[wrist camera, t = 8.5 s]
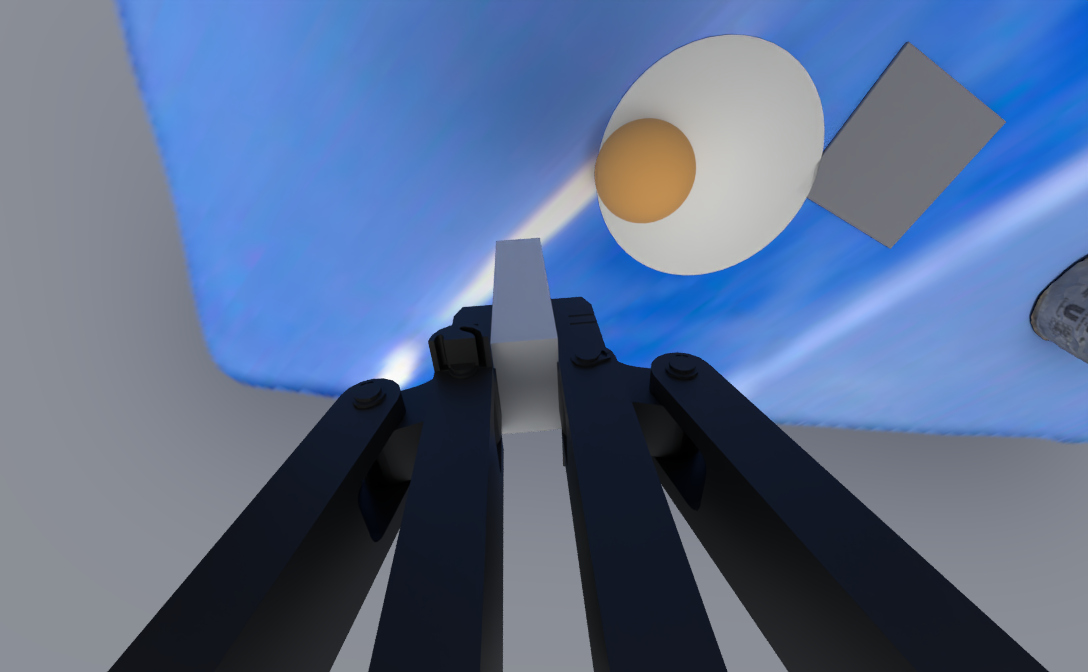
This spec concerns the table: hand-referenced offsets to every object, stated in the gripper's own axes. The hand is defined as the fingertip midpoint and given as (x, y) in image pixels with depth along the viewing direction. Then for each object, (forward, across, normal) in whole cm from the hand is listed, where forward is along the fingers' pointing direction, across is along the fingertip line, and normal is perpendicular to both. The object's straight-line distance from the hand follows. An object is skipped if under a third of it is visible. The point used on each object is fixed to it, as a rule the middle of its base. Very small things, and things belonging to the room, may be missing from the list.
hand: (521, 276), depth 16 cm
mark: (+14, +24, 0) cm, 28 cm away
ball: (+11, +7, +1) cm, 13 cm away
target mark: (+14, +12, 0) cm, 18 cm away
